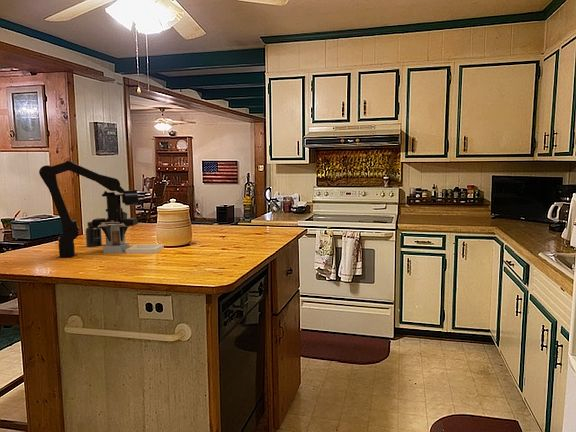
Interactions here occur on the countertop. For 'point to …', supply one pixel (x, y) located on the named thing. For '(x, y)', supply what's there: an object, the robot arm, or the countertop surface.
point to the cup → (114, 228)
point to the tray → (145, 248)
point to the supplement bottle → (93, 236)
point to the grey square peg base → (115, 248)
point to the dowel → (115, 238)
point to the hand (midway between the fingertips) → (116, 241)
